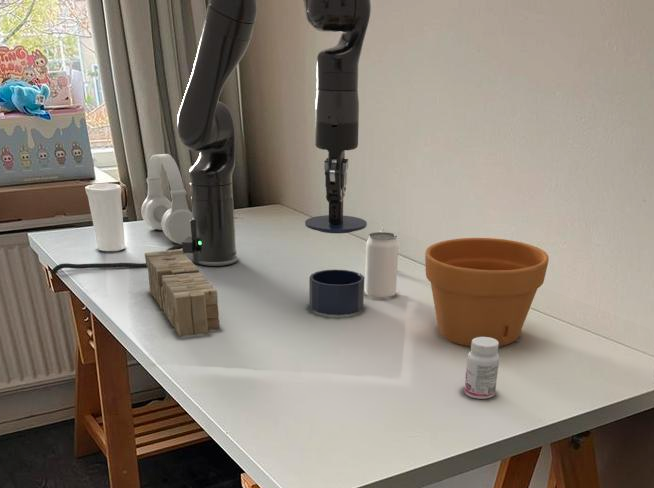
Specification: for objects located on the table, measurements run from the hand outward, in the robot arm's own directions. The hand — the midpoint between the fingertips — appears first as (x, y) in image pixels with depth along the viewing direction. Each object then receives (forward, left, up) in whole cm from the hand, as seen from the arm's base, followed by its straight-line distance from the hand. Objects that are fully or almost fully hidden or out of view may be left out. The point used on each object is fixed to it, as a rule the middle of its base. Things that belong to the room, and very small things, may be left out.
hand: (335, 221), depth 143 cm
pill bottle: (+26, -36, -17) cm, 47 cm away
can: (+8, +10, -17) cm, 22 cm away
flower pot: (+27, -10, -17) cm, 34 cm away
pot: (0, 0, -17) cm, 17 cm away
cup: (-58, +35, -17) cm, 70 cm away
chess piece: (+7, +29, -17) cm, 35 cm away
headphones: (-48, +50, -17) cm, 71 cm away
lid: (0, 0, -1) cm, 1 cm away
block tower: (-29, -6, -17) cm, 34 cm away
